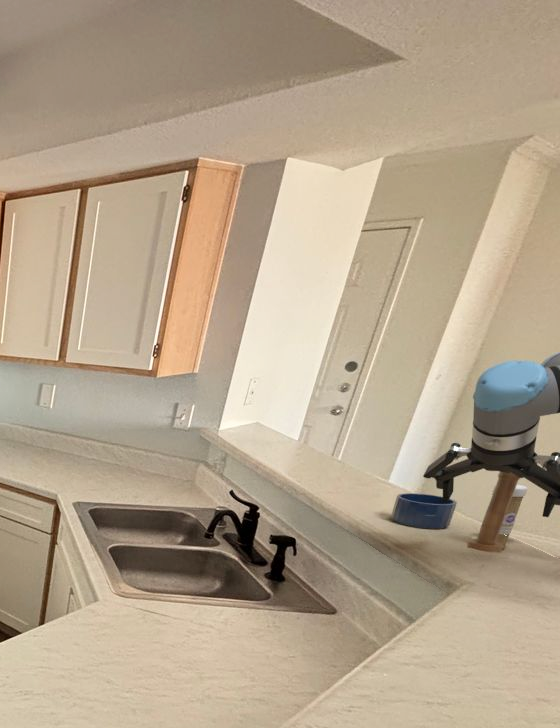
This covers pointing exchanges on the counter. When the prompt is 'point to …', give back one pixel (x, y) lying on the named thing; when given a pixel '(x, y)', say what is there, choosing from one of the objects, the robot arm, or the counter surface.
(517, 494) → the sprinkles bottle
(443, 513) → the bowl
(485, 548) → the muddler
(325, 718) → the counter surface
